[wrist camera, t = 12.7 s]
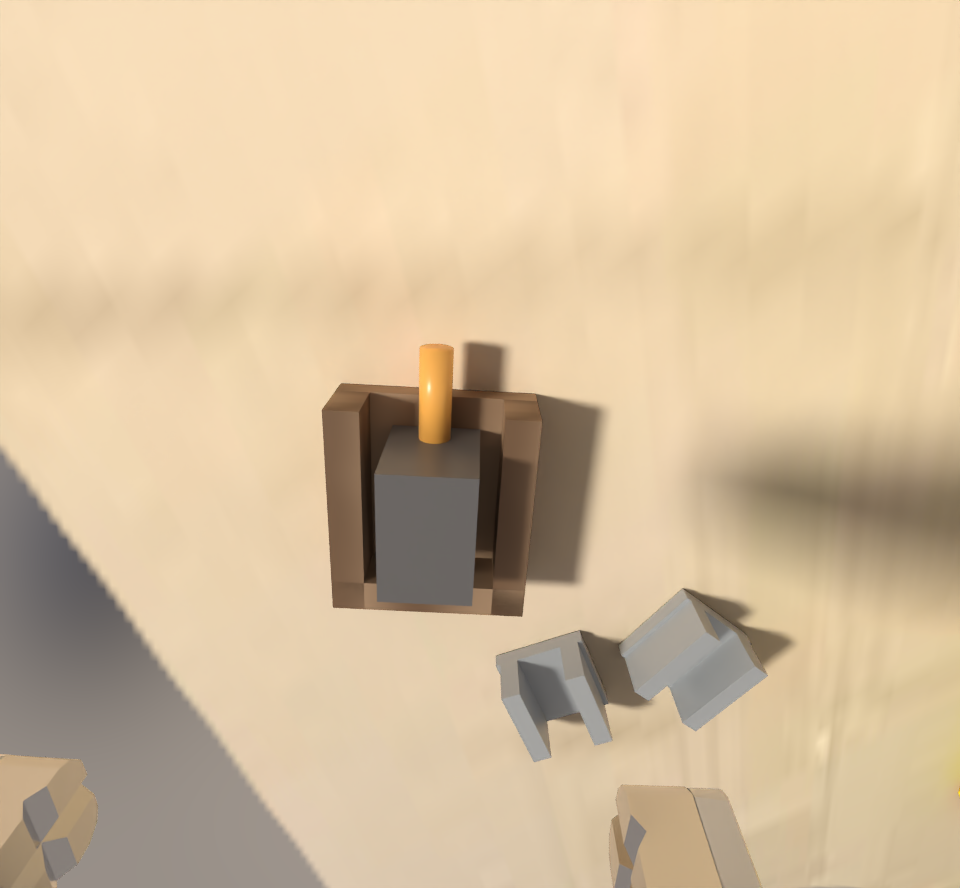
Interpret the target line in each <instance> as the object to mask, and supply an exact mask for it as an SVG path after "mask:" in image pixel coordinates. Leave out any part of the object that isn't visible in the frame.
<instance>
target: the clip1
mask: <svg viewBox="0 0 960 888" xmlns="http://www.w3.org/2000/svg"><path fill="white" fill-rule="evenodd" d="M751 645H752V644H751V642H750V640H749V639H748V637H747V635H746V634H745V633H744V632H742V631H741V630H739V629H738V628H737V627H735V626H734V625H733V624H731V623H730V622H728V621H727V620H726V619H724V618H723V617H721V616H720V615H719V614H717V613H716V612H715V611H713V610H712V609H710V608H709V607H708V606H706V605H705V604H703V603H702V602H701V601H699V600H698V599H696V598H695V597H694V596H692V595H691V594H690V593H688V592H687V591H685V590H684V589H682V590H681V591H679V592H678V593H677V594H676V595H675V596H674V597H673V598H671V599H670V600H669V601H668V602H667V603H666V604H665V605H664V606H662V607H661V608H660V609H659V610H658V611H657V612H656V613H654V614H653V615H652V616H651V617H650V618H649V619H648V620H647V621H645V622H644V623H643V624H642V625H641V626H640V627H639V628H637V629H636V630H635V631H634V632H633V633H632V634H631V635H630V636H628V637H627V638H626V639H625V640H624V641H623V642H622V643H621V644H619V645H618V646H619V650H620V653H621V656H622V657H624V658H625V661H626V664H627V668H628V671H629V674H630V678H631V681H632V685H633V688H634V691H635V693H637V694H639V695H640V696H642V697H643V698H645V699H646V700H648V701H649V700H650V699H652V698H653V697H654V696H655V695H657V694H658V693H659V692H660V691H661V690H663V689H664V688H665V687H666V686H668V687H669V688H670V690H671V693H672V696H673V698H674V701H675V704H676V706H677V709H678V712H679V715H680V717H681V720H682V723H684V724H685V725H687V726H688V727H690V728H691V729H693V730H695V731H697V730H698V729H699V728H701V727H702V726H703V725H704V724H706V723H707V722H708V721H710V720H711V719H712V718H714V717H715V716H716V715H717V714H719V713H720V712H721V711H723V710H724V709H725V708H727V707H728V706H729V705H730V704H732V703H733V702H734V701H736V700H737V699H738V698H740V697H741V696H742V695H743V694H745V693H746V692H747V691H749V690H750V689H751V688H753V687H754V686H755V685H756V684H758V683H759V682H760V681H762V680H763V679H764V678H766V677H767V676H768V675H767V673H766V671H765V669H764V668H763V666H762V664H761V663H760V661H759V659H758V657H757V656H756V654H755V652H754V650H753V649H752V647H751Z"/></svg>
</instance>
